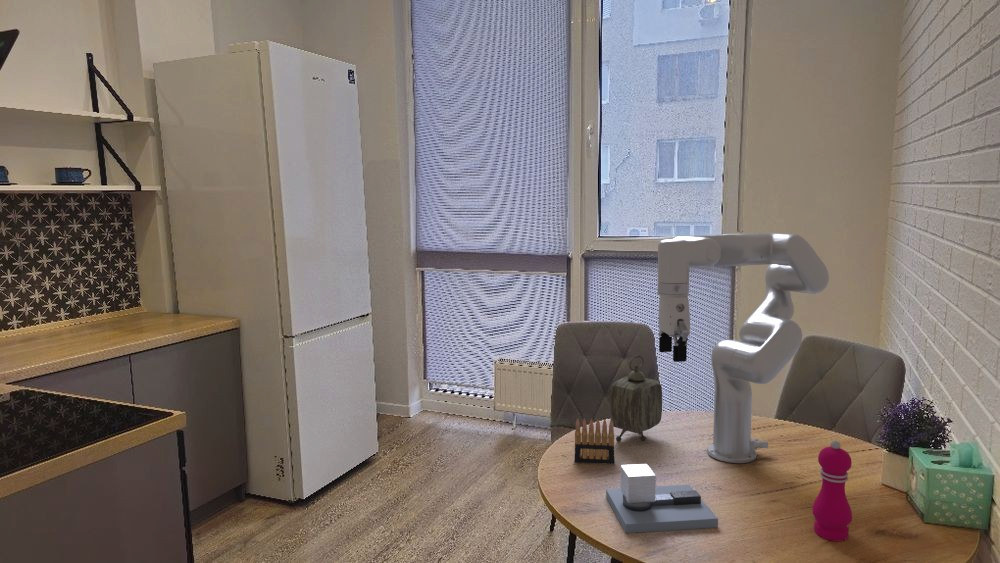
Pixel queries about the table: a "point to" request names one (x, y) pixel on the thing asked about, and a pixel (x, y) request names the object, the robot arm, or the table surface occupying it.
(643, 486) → the matte grey cube
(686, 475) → the table surface
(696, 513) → the slate board
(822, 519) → the pepper mill
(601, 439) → the ammunition clip
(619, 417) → the tabletop clock
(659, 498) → the ratchet
